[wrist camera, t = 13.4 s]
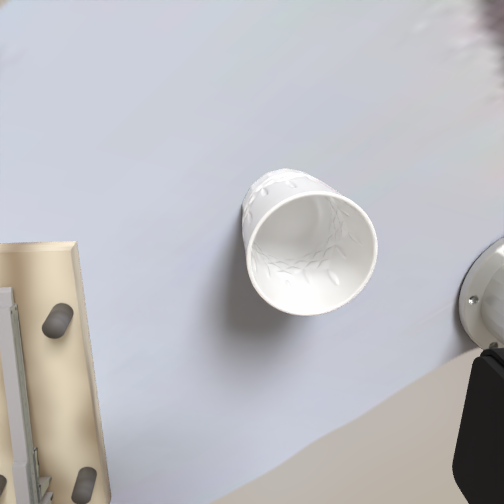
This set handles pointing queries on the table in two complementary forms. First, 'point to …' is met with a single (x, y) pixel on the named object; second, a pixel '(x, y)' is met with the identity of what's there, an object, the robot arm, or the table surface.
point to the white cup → (305, 243)
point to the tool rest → (54, 374)
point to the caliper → (19, 408)
